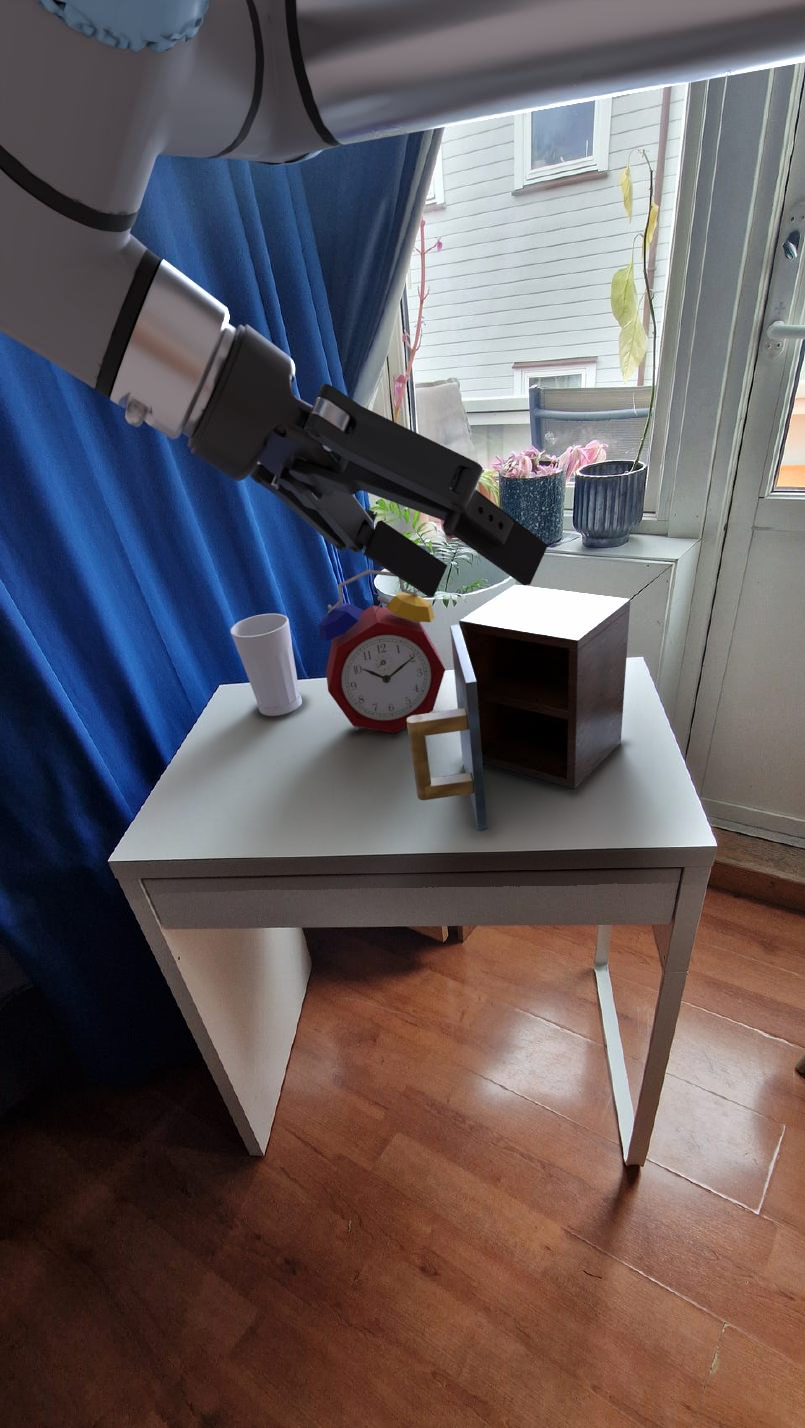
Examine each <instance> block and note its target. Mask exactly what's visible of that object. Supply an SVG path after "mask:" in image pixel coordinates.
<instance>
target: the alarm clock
mask: <svg viewBox="0 0 805 1428" xmlns="http://www.w3.org/2000/svg"><path fill="white" fill-rule="evenodd" d="M370 574H371V575H378V576H387V577H395V578H396V577H397V576H396V575H394V574H392V573H391V572H389V571H384V570H383V571H382V570H376V569H375V570H374V569H367V570H365V571H363V572H361V573H359V574H357V575H354V576H353V577H351V578H349V579H347V580H345V581H343V582H341V583H339V584H337V592H338V601H337V602H336V603H335V604H334V605H333V606H332V605H331V604H328V605H327V608H328V611H327V613H326V614H324V615H323V616H322V618H321V620H320V622H319V624H318V626H319V628H318V630H319V639H320V640H322V641H325V642H329V641H331V645H330V650H329V655H328V661H327V666H326V671H325V675H326V684H327V691H328V693H329V695H330V696H331V697H332V699H333V700H334V701H335V703H336V704H337V706H338V707H339V708H340V710H341V712H342V713H343V714H344V716H345V717H346V718H347V720H348V721H349V722H350V724H351V725H352V726H353V729H354V731H355V730H356V731H359V729H360V728H364V729H370V730H376V731H379V732H387V733H392V734H396V733H398V732H400V731H402V730H403V729H405V728H407V721H406V720H407V718H408V717H410V716H413V715H420V714H427V713H433V711H434V709H435V708H434V707H435V705H436V702H437V698H438V695H439V692H440V688H441V686H442V682H443V678H444V676H445V672H446V668H445V665H444V663H443V661H442V659H441V657H440V654H439V652H438V650H437V649H436V647H435V645H434V643H433V641H432V639H431V638H430V636H429V635H428V633H427V631H426V629H425V628H424V626H423V624H422V623H432V621H433V620H434V619H435V618H436V616H435V613H434V610H433V606H432V604H431V602H429V601H428V600H427V599H425V598H424V597H421V596H419V594H418V590H417V589H416V588H414V589H413V591H411V590H408V589H406V588H405V583H404V581H403V580H402V579H400V578H399V577H397V578H398V582H399V586H400V591H401V592H398V593H397V594H396V595H394V596H393V597H392V598H391V600H390V599H388V598H386V597H384V596H383V595H381V594H379V595H378V596H377V600H378V601H380V602H379V605H371V606H369V607H368V608H366V609H365V610H364V609H362V608H359V607H357V606H355V605H354V604H351V603H348V602H344V598H343V597H344V596H343V589H342V588H343V587H345V586H347V585H349V584H351V583H353V582H355V581H357V580H359V579H360V578H361V579H362V578H363V577H365V576H366V575H370ZM382 604H385V605H384V607H381V606H382Z"/></svg>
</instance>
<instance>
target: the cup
mask: <svg viewBox="0 0 805 1428" xmlns="http://www.w3.org/2000/svg"><path fill="white" fill-rule="evenodd" d="M229 631H230V635H231V638H232V640H233V642H234V645H235V648H236V650H237V653H238V655H239V657H240V660H241V662H242V665H243V668H244V670H245V673H246V676H247V679H248V681H249V684H250V686H251V689H252V691H253V695H254V698H255V701H256V703H257V706H258V707H257V708H258V710H259V713H261V714H262V715H264V716H269V717H276V716H277V717H278V716H283V715H287V714H289V713H292V712H294V711H295V710H297V709H299V708H300V707H301V705H302V703H303V700H302V696H301V691H300V688H299V682H298V676H297V669H296V663H295V656H294V650H293V644H292V643H293V641H292V635H291V627H290V621H289V617H287V615H285V614H281V613H263V614H257V615H253V616H250V617H246V618H244V619H242V620H240V621H238V622H236V623H235V624H233V625H232V626H231V628H230V630H229Z"/></svg>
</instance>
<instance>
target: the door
mask: <svg viewBox="0 0 805 1428" xmlns="http://www.w3.org/2000/svg"><path fill="white" fill-rule="evenodd" d="M449 629H450V640H451V651H452V663H453V673H454V674H453V675H454V683H455V693H456V703H457V708H455V709H448V710H442V711H435V712H430V713H427V714H420V715H413V716H410V717H408V718H407V720H406V721H407V726H406V729H407V735H408V741H409V747H410V754H411V762H412V770H413V774H414V775H413V776H414V781H415V789H416V796H417V798H418V800H420V801H430V800H436V799H442V798H443V799H444V798H451V797H457V796H464V795H469V796H470V801H471V805H472V809H473V814H474V819H475V822H476V828H477V830H478V831H481V830H488V820H487V819H488V818H487V807H486V806H487V805H486V804H487V803H486V791H485V790H486V789H485V778H484V766H483V763H484V762H482V750H481V736H480V723H479V709H478V696H477V682H476V679H475V675H474V672H473V669H472V665H471V662H470V658H469V655H468V652H467V648H466V645H465V642H464V638H463V635H462V632H461V628H460V625H459V623H458V624H453V625H449ZM455 732H459V735H460V748H461V757H462V758H461V759H462V765H463V768H464V773H458V774H453V775H452V774H451V775H445V776H437V777H431V770H430V761H429V756H428V748H427V747H428V746H427V740H426V739H427V738H426V737H427V736H435V735H442V734H449V733H455Z"/></svg>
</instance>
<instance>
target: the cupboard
mask: <svg viewBox="0 0 805 1428" xmlns="http://www.w3.org/2000/svg"><path fill="white" fill-rule="evenodd" d="M630 612H631V598H623V597H614V596H606V595H601V594H600V595H598V594H590V593H585V592H584V593H582V592H576V591H566V590H559V589H552V588H551V589H550V588H542V587H535V586H529V585H519V584H514V585H513V586H510V588H507V589H506V590H505V591H503V592H501V593H500V594H498V595H497V596H496V597H494V598H493V599H491V600H489V601H488V602H486V603H484V604H483V605H481V606H480V607H478V608H477V609H475V610H474V611H472V612H470V613H469V614H467V615H465V616H463V618H461V619H459V621H458V624H459V625H460V628H461V632H462V635H463V638H464V642H465V645H466V648H467V652H468V655H469V658H470V662H471V665H472V669H473V672H474V675H475V679H476V682H477V696H478V709H479V723H480V736H481V750H482V763H485V764H487V765H492V766H495V767H498V768H501V769H505V770H508V771H511V772H515V773H517V774H522V775H525V776H529V777H532V778H536V779H538V780H542V781H545V782H549V783H552V784H556V785H559V786H563V787H566V788H570V789H573V790H575V789H577V787H579V785H581V784H582V783H583V781H585V779H587V777H589V776H590V774H592V772H594V771H595V769H597V768H598V766H599V765H600V764H602V763H603V762H604V760H605V759H606V758H607V757H608V756H609V755H611V753H613V752H614V751H615V749H616V748H618V746H619V745H620V744H621V743H622V733H623V732H622V730H623V717H624V716H623V715H624V701H625V688H626V686H625V684H626V672H627V671H626V669H627V658H628V657H627V656H628V643H629V642H628V641H629V627H630Z"/></svg>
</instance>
